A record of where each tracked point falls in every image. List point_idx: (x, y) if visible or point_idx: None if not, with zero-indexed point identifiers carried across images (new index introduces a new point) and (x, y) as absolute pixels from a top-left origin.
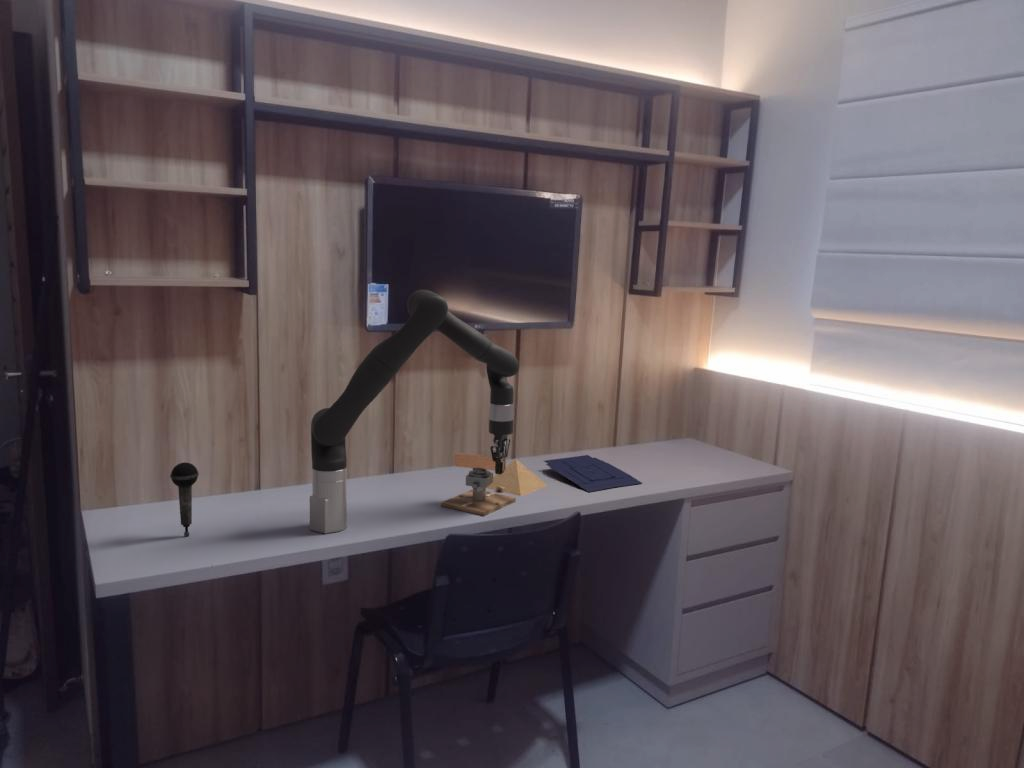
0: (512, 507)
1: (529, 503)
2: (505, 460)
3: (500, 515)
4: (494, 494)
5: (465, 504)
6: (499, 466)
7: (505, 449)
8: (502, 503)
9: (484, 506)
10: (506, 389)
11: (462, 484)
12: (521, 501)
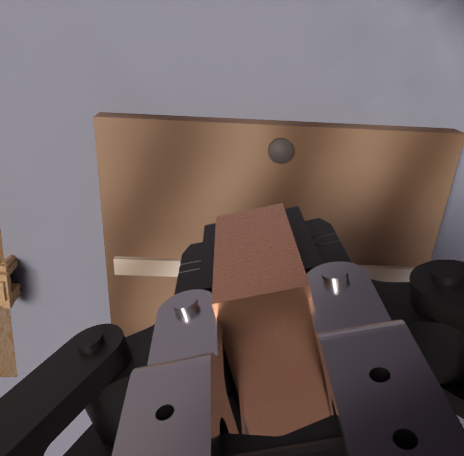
0: (218, 67)
1: (73, 9)
2: (220, 275)
3: (402, 51)
4: (128, 253)
5: (394, 279)
6: (348, 259)
7: (215, 424)
8: (253, 128)
9: (362, 188)
10: None
11: (53, 447)
12: (74, 80)
